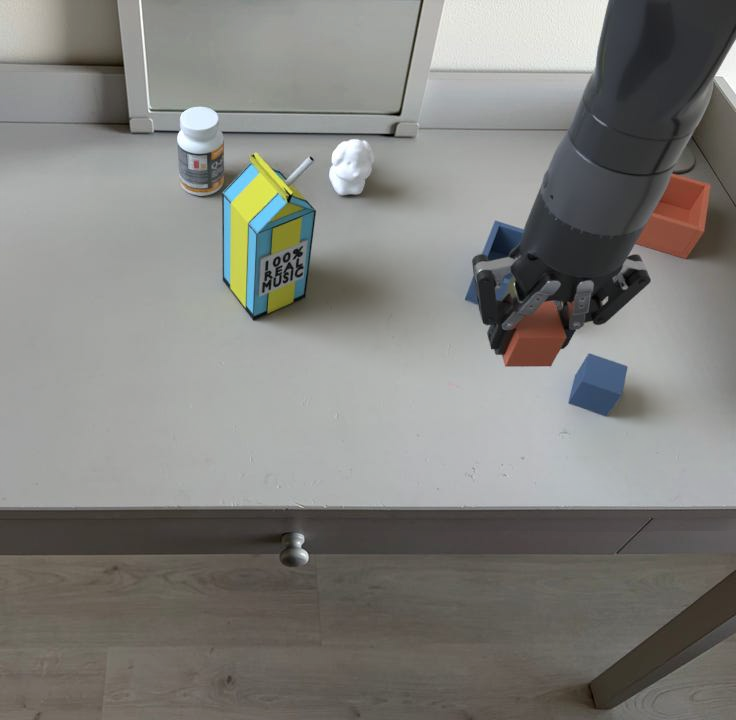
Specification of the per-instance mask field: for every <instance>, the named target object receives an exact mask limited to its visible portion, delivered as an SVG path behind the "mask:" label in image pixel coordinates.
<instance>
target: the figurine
mask: <svg viewBox="0 0 736 720" xmlns="http://www.w3.org/2000/svg"><path fill="white" fill-rule="evenodd" d="M374 162H375V155H374V151H373V149H372V148H371V145H370V143H369V142H368V141H367V140H361V139H359V138H352V139H349V140H347V141H346V140H345V141H344V140H343V141H342V142H341V143H339V144H338V145H337V147H336V148H335V149H334V150H333V152H332V155H331V164H332V165H331V166H330V168H329V170H328V171H329V172H328V173H329V175H328V178H329V181H330V183H331V185H332V187H333V189H334V191H335V192H336V194H338V195H339V196H347V195H354V196H357V195H360V194H361V193H362V192H363V190H364V188H365V184H366V179H367V178H369V177H370V175H371V173H372V171H373V166H372V165H373V164H374Z"/></svg>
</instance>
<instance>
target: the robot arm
mask: <svg viewBox="0 0 736 720" xmlns="http://www.w3.org/2000/svg"><path fill="white" fill-rule="evenodd" d="M735 43H736V0H608V1H607V5H606V9H605V13H604V18H603V22H602V27H601V31H600V37H599V40H598V45H597V50H596V57H595V66H594V69H593V71H592V72H591V75H590V76H589V79H588V81H587V83H586V85H585V87H584V89H583V92H582V95H581V96H580V99H579V101H578V104H577V106H576V109H575V111H574V114H573V116H572V119H571V121H570V123H569V126H568V128H567V130H566V132H565V134H564V135H563V137H562V139H561V140H560V142H559V144H558V146H557V147H556V149H555V151H554V152H553V155H552V158H551V161H550V163H549V165H548V168H547V169H546V171H545V172H544V175H543V177H542V181H541V184H540V187H539V190H538V192H537V194H536V197H535V199H534V202H533V204H532V207H531V209H530V212H529V214H528V216H527V219H526V221H525V225H524V228H523V229H524V232H523V236H522V239H521V241H520V243H519V244H518V245H517V246H516V247H515V248H514V249H512V250H511V252H510V253H509V255H508V257H505V258H501V259H496V260H492V261H488V257H487V256H486V255H484V254H482V253H481V254H476V255H475V256H474V257H473V258H472V260H471V264H472V273H473V276H474V281H475V289H476V297H477V302H478V304H477V306H478V309H479V314H480V317H481V321H482V324H483V325H485V326H489V327H488V330H487V333H486V334H487V338H488V343H489V347H490V349H491V350H493V352H494V354H495V355H496V356H502V355H504V354H505V352H506V350H507V348H508V346H509V344H510V342H511V339H512V337H513V335H514V333H515V331H516V329H515V327H516V326H517V325H518V324H519V323H520V322H521V321H522V320H523V318H524V317H525V316H526V315H530V316H531V315H533V313H534V312H535V311H536V310H537V309H538V308H539V307H540V306H541V304H542V303H543V302H546V301H552V300H556V301H559V302H560V306H561V309H557V310H558V313H559V316H560V319H561V322H562V325H563V328H564V331H565V334H566V337H567V338H566V340H565V342H564V343H563V345H562V347H561V349H560V350H565V348H566V347H568V346H569V344H570V342H571V340H572V338H573V337H574V335H575V333H576V331H577V330H579V329H581V328H583V327H584V325H585V323H590V322H592V323H593V325H596V326H601V325H604V324H606V323H607V322H608V321H609V320H610V319H612V318H613V317H614V316H615V315H616V314H617V313H618V312H620V311H621V310H622V308H624V307H625V306H626V305H627V304H628V303H630V302H631V300H633V298H635V297H636V296H637V295H638V294H639V293H641V291H642V290H644V289H645V288H646V287H647V286H648V285H649V284H650V283H651V282H652V279H651V277H650V275H649V272H648V269H647V267H646V265H645V262H644V261H643V259H642V257H641V256H640V255H639V254H638V253H637V254H636V253H635V254H631V252H632V250H633V248H635V247H634V246H635V245H636V244H635V243H636V241H637V240H638V238H639V236H640V234H641V233H642V231H643V229H644V228H645V226H646V224H647V222H648V221H649V219H650V217H651V215H652V213H653V212H654V210H655V208H656V206H657V205H658V203H659V201H660V199H661V198H662V196H663V194H664V192H665V190H666V188H667V186H668V183H669V181H670V178H671V175H672V174H673V172H674V170H675V167H676V165H677V163H678V161H679V160H680V157H681V156H682V153H683V152H684V150H685V149H686V147H687V145H688V143H689V141H690V140H691V138H692V136H693V135H694V132H695V131H696V129H697V127H698V125H699V124H700V122H701V120H702V119H703V116H704V115H705V112H706V110H707V108H708V106H709V103H710V102H711V101H710V100H711V98H712V94H713V91H714V86H715V85H714V78H715V77H716V75H717V74H718V72H719V70H720V68H721V67H722V64H723V63H724V61H725V60H726V57H727V56H728V55H729V52H730V51H731V49H732V47H733V45H734V44H735ZM510 273H512V274H513V277H512V278H511V279H510V281H509V283H508V288H507V290H506V292H505V293H504V294H503V295H502V297H501V298H500V299H499V300H496V294H495V290H499V289H500V288H501V286H500V284H502V283H503V280H504V277H505V276H506V275H508V274H510ZM606 298H607V300H606ZM604 300H606V302H605V303H603V301H604ZM559 353H560V351H559V352H558V354H559Z"/></svg>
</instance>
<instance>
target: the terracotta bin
mask: <svg viewBox="0 0 736 720" xmlns="http://www.w3.org/2000/svg"><path fill="white" fill-rule="evenodd" d="M711 187H712V184H711V183H707V182H703V181H701V180H697V179H693V178H689V177H686V176H682V175H679V174H675V173H672V175H671V178H670V181H669V183H668V186H667V188H666V190H665V192H664V194H663V196H662V198H661V199H660V201H659V203H658V205H657V206H656V208H655V210H654V212H653V213H652V215H651V217H650V219H649V221H648V222H647V224H646V226H645V228H644V229H643V231H642V233H641V234H640V236H639V238H638V240H637V241H636V243H635V245H638V246H642V247H645V248H649V249H652V250H655V251H659V252H661V253H665V254H668V255H672V256H674V257H678V258H681V259H685V260H687V258H688V257H689V255H690V254H691V253H692V251H693V249H695V246H696V245H697V244H698V242H699V240H700V239H701V238H702V236H703V234H704V233H705V230H706V222H707V216H708V210H709V209H708V208H709V203H710V202H709V201H710V196H711V195H710V193H711Z"/></svg>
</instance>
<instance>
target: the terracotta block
mask: <svg viewBox="0 0 736 720" xmlns="http://www.w3.org/2000/svg"><path fill="white" fill-rule="evenodd" d="M558 310H559V309H558V307H557V306H556V305H555V302H554V301H546V302H543V303H542V304H541V306H540V307H539V308H538V309H537V310H536V311H535V312H534V313H533V315H531V316H530V315H526V316H525V317H524V318H523V320H522V321H521V322H520V323H519V324H518V325H517V326H516V327H515V329H516V331H515V333H514V335H513V337H512V339H511V342H510V344H509V346H508V348H507V350H506V352H505V354H504V355H501V357H502V360H503V363H504V367H506V368H509V367H512V368H513V367H514V368H515V367H516V368H517V367H519V368H522V367H524V368H525V367H552V365H553V363H554V362H555V360H556V358H557V356H558V355H559V353H560V351H561V350H562V349H561V347H562V345H563V343H564V342H565V340H566V338H567V337H566V334H565V331H564V328H563V325H562V322H561V319H560V316H559V313H558ZM558 352H559V353H558Z"/></svg>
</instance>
